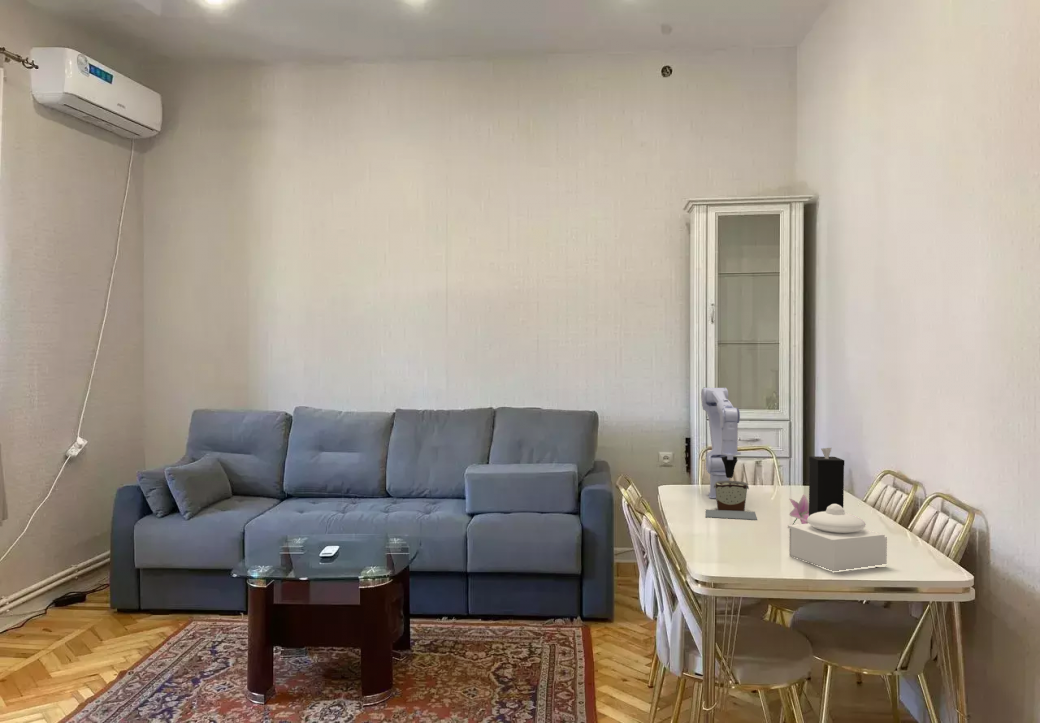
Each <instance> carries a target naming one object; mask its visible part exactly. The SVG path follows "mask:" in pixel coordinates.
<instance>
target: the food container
mask: <svg viewBox="0 0 1040 723" xmlns="http://www.w3.org/2000/svg"><path fill="white" fill-rule="evenodd" d="M714 488H715V489H716V498H715V499H716V508H717V509H716V510H726V511H745V512H746V510H745V509H746V502H747V495H748V494H747V492H748V490H750V488H749V484H748V483H747V482H744V481H739V480H729V481H717V482H715V484H714Z"/></svg>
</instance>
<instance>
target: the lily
mask: <svg viewBox="0 0 1040 723" xmlns="http://www.w3.org/2000/svg"><path fill="white" fill-rule="evenodd" d="M788 500H789V501H790V503H791V505H792V506H793V509H792V510H791V511H790V512H789V514H788V515H789V516H790V517H792V518H795V519H794V521H793V523H792V525H793V524H794V525H795V523H796V521H797V520H798V519H799V520H800V524H808V521H807V518H808V517H809V499H808V498H807V496H806V494H805V493H803V494H802V496H801V498H800V500H799V502H798V501H796V500H794V499H792V498H789V499H788Z"/></svg>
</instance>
